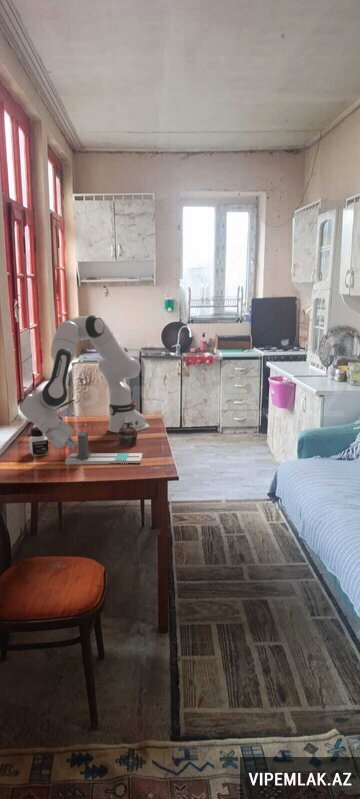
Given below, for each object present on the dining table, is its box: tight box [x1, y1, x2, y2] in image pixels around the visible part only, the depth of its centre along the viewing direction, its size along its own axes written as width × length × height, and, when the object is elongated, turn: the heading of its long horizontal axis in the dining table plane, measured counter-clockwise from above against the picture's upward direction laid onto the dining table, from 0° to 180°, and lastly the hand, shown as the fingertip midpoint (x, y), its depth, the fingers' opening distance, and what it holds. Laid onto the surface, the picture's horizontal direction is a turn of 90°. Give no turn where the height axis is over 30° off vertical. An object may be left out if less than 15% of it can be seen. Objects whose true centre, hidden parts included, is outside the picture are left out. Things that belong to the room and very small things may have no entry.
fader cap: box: [76, 431, 92, 459], centre depth 213 cm, size 5×7×10 cm
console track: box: [64, 452, 144, 465], centre depth 214 cm, size 32×10×2 cm, turn 89°
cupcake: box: [117, 422, 139, 447], centre depth 238 cm, size 10×10×10 cm
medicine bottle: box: [28, 426, 50, 457], centre depth 224 cm, size 7×7×12 cm
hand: (75, 447), depth 214 cm, fingers closed
